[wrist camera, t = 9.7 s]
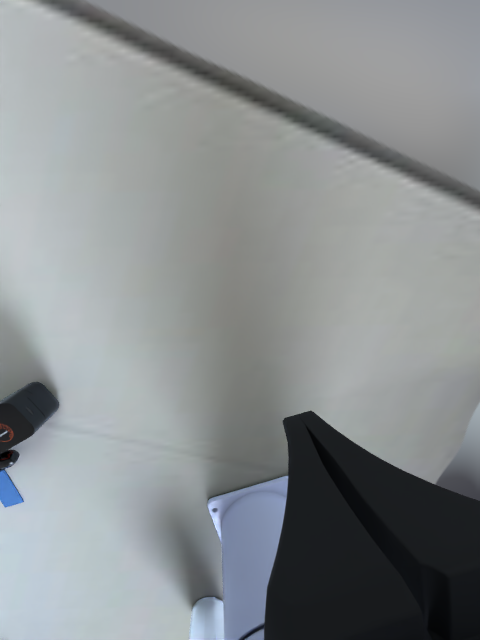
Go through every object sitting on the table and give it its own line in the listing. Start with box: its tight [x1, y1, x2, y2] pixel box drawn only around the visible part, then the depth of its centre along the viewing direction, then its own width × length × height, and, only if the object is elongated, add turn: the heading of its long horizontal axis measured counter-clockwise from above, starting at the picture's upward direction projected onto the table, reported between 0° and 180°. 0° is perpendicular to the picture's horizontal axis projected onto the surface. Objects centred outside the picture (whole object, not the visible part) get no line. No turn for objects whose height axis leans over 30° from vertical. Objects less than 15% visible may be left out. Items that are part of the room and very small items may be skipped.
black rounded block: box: [0, 382, 59, 472], centre depth 18 cm, size 5×7×3 cm, turn 120°
